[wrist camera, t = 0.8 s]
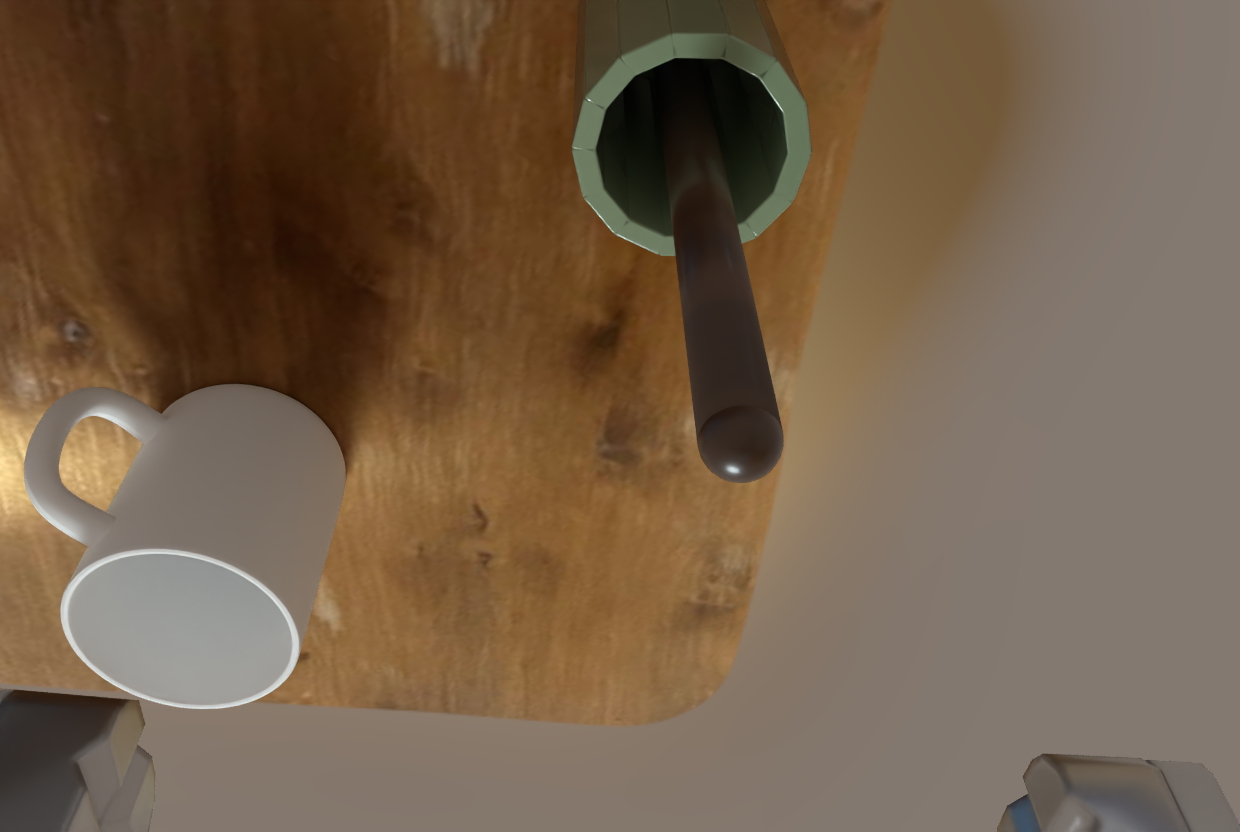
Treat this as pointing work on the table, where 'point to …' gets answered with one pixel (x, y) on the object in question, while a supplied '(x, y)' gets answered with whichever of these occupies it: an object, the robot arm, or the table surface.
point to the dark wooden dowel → (714, 287)
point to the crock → (629, 117)
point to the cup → (195, 540)
